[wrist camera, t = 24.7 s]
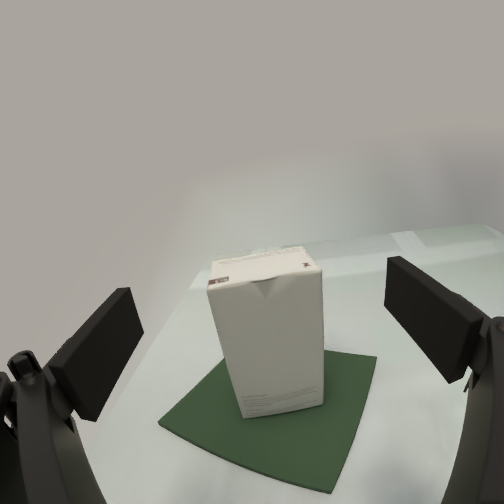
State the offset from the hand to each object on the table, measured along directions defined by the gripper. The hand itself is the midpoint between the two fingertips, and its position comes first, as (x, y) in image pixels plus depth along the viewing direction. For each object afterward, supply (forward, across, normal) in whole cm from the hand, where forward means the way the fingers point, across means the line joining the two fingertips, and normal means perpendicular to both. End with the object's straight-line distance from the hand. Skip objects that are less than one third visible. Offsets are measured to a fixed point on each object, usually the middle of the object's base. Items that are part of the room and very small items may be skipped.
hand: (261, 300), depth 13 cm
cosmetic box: (+8, 0, -16) cm, 18 cm away
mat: (+8, 0, -16) cm, 18 cm away
